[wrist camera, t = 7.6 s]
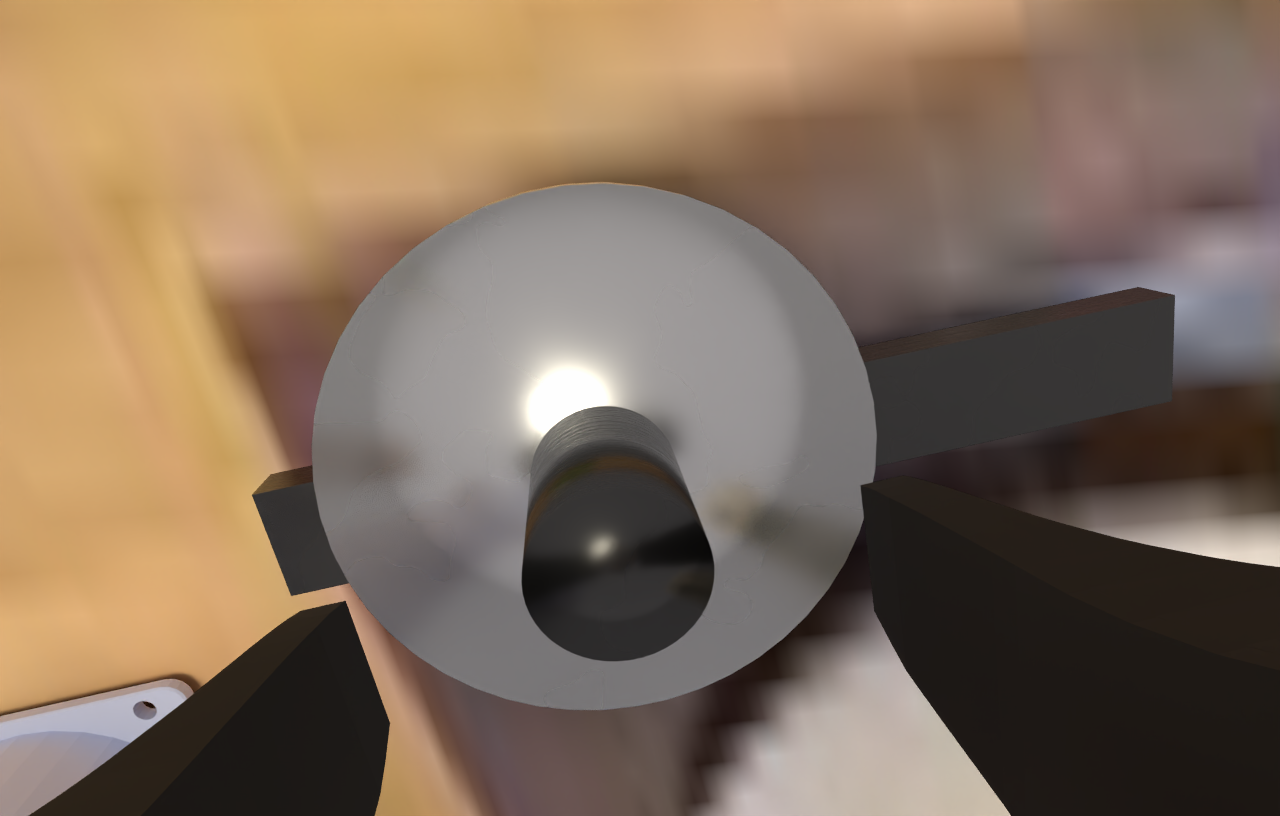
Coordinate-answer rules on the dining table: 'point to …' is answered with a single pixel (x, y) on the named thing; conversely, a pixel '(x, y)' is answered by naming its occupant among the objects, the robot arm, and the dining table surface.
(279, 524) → the cooker base
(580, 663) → the lid
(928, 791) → the dining table surface
